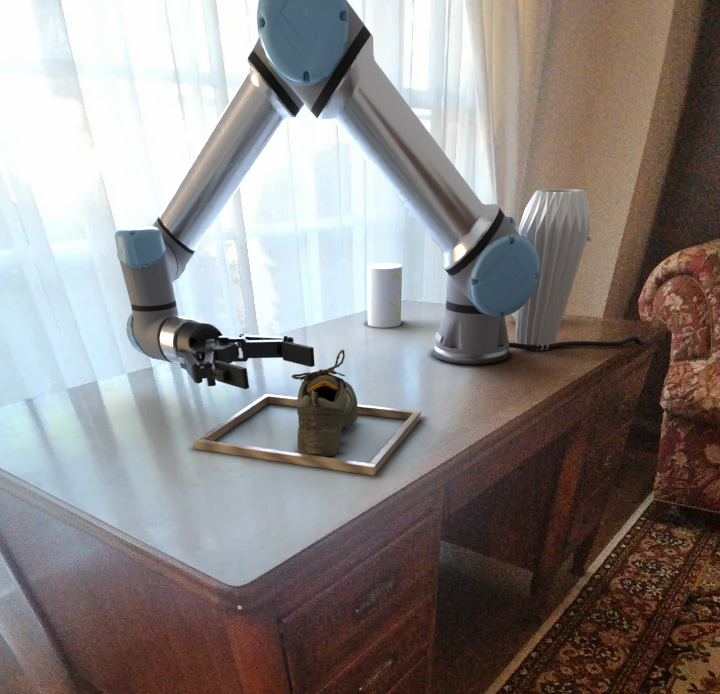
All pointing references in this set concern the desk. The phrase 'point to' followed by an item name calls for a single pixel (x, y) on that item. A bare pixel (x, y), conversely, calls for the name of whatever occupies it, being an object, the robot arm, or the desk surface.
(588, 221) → the vase
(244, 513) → the desk surface
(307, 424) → the hiking shoe
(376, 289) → the cup
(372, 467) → the wooden frame
